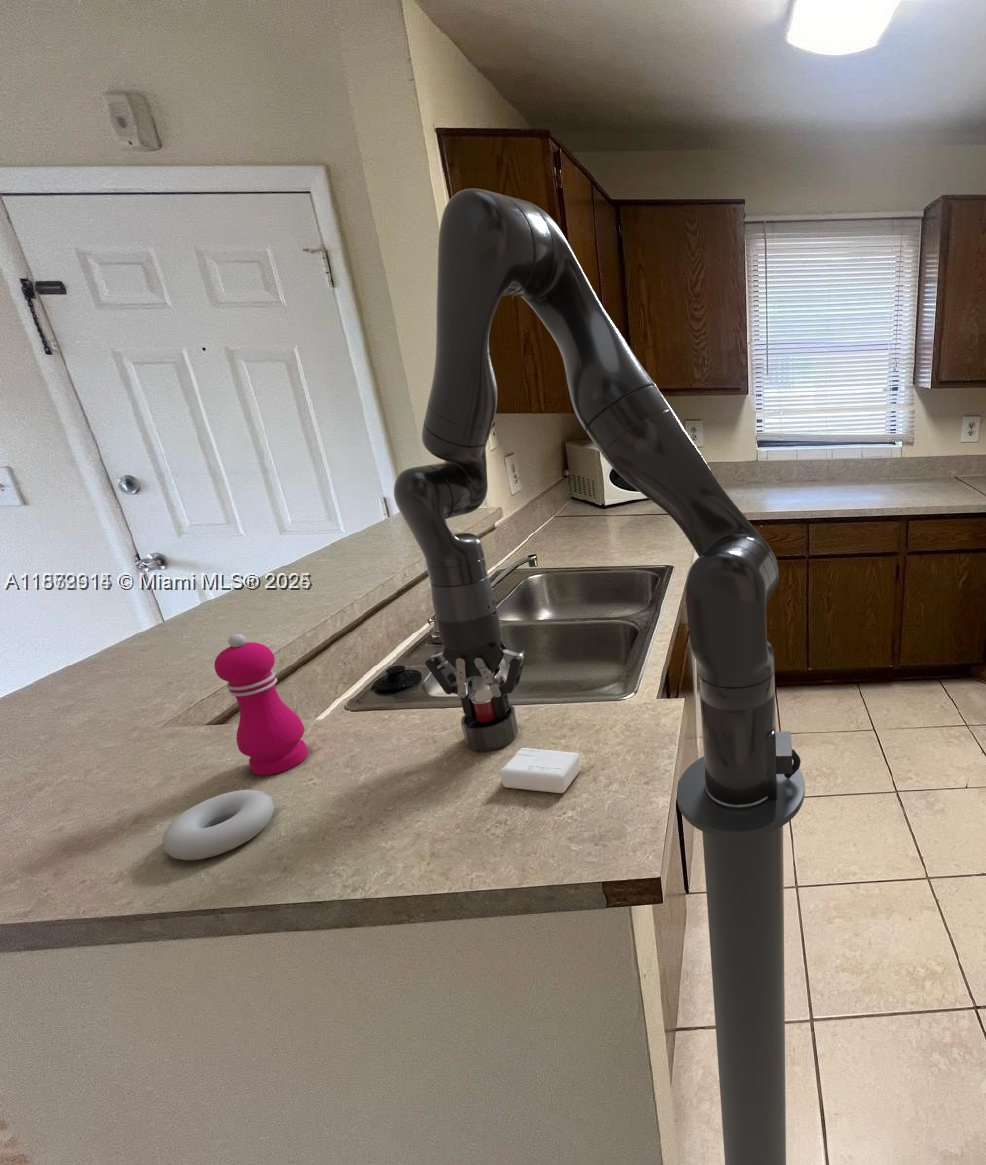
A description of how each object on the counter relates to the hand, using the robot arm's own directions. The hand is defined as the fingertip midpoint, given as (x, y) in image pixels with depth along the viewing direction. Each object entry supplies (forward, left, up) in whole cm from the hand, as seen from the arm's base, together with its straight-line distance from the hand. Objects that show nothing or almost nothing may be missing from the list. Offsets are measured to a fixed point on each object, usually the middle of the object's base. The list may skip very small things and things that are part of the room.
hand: (488, 715), depth 88 cm
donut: (+24, +19, -4) cm, 31 cm away
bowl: (0, 0, -4) cm, 4 cm away
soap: (-11, +10, -4) cm, 15 cm away
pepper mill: (+28, +5, -4) cm, 29 cm away
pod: (0, 0, 0) cm, 0 cm away
